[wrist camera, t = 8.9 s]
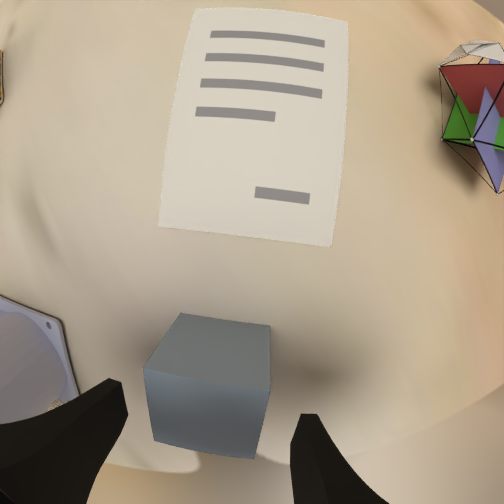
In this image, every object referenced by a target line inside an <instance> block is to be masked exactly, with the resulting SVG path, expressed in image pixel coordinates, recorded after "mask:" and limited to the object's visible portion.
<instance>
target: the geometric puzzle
mask: <svg viewBox="0 0 504 504" xmlns="http://www.w3.org/2000/svg"><path fill="white" fill-rule="evenodd" d="M465 54H469V55H475V56H479V57H483V58H488V59H490V60H489V64H479V63H480V62H481V61H482V59H483V58H482V59H481V60H480V62H479V63H478V64H462V65H447V66H442V65H443V64H444V65H445V63H446V64H447V62H448V63H450V61H451V62H452V60H453V61H455V60H454V59H456V58H458V57H461V56H463V55H465ZM466 56H468V55H466ZM464 57H465V56H464ZM461 58H462V57H461ZM459 59H460V58H459ZM456 60H457V59H456ZM499 61H500V62H504V50H503V48H502V47H501V45H500V43H497V42H491V41H483V40H474V41H469V42H467V43H465V44H462V45H460V46H459V47H458V48H457V49H456V50H455V51H454V52H453V53H452V54H451V55H450V56H449V57H448V58H447V59H446V60H445V61H444V62H443V63H442V64H441V65H440V66H439V65H438V66H437V67H438V68H439V69H440V71H441V73H442V72H443V73H444V74H443V73H442V75H443V77H444V79H445V80H446V78H447V79H448V80H449V82H450V83H451V85H452V86H453V88H454V89H455V91H456V92H457V96H456V98H455V96H454V94H453V92H452V90H451V88H450V86H449V84H448V82H447V80H446V82H447V84H448V86H449V88H450V90H451V92H452V95H453V97H454V99H455V102H454V106H453V109H452V112H451V115H450V118H449V121H448V124H447V126H446V129H445V132H444V135H443V137H442V138H441V141H444V142H445V141H447V142H452V143H456V144H460V145H464V146H468V147H471V148H475V149H476V150H477V152H478V154H479V156H480V158H481V160H482V162H483V164H484V166H485V168H486V170H487V172H488V175H489V177H490V179H491V181H492V184H493V186H494V189H495V190H494V189H493V188H492V187H491V186H490V185H489V184H488V183H487V184H488V185H489V186H490V187H491V188H492V189H493V190H494V191H496V195H497V196H498V194H500V193H501V192H500V193H498V191H499V188H500V185H501V181H502V178H503V174H504V64H500V62H499ZM440 71H439V75H440ZM444 75H445V76H446V78H445V76H444ZM440 86H441V81H440ZM441 102H442V95H441ZM442 129H443V126H442ZM455 141H456V142H455ZM459 142H462V143H459ZM445 143H446V142H445ZM463 143H468V144H474V146H475V147H474V146H470V145H467V144H463ZM448 145H449V144H448ZM449 146H450V145H449ZM450 147H451V146H450ZM451 148H452V147H451ZM452 149H453V148H452ZM453 150H454V149H453ZM454 151H455V150H454ZM459 155H460V154H459ZM460 156H461V155H460ZM461 157H462V156H461ZM462 158H463V157H462ZM463 159H464V158H463ZM464 160H465V159H464ZM465 161H466V160H465ZM466 162H467V161H466ZM467 163H468V162H467ZM468 164H469V163H468ZM469 165H470V164H469ZM470 166H471V165H470ZM471 167H472V166H471ZM472 168H473V167H472ZM473 169H474V168H473ZM474 170H475V169H474ZM475 171H476V170H475ZM476 172H477V171H476ZM477 173H478V172H477ZM478 174H479V173H478ZM479 175H480V174H479ZM480 176H481V175H480ZM481 177H482V176H481ZM482 178H483V177H482ZM483 179H484V178H483ZM484 180H485V179H484ZM503 191H504V190H503ZM503 191H502V192H503Z"/></svg>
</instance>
